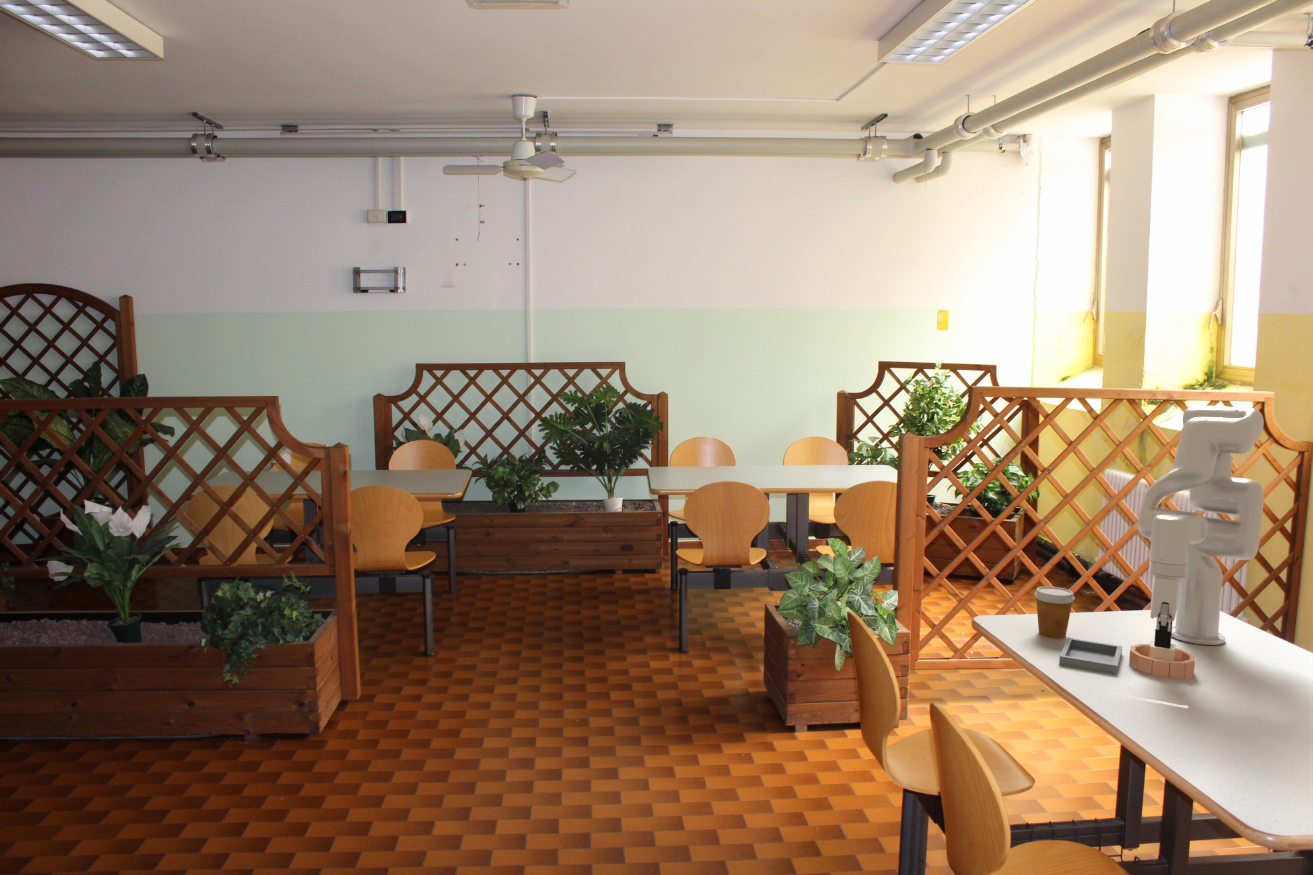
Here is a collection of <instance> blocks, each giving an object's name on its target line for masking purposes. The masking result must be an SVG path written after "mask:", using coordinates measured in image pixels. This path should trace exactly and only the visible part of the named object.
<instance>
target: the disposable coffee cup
mask: <svg viewBox="0 0 1313 875" xmlns="http://www.w3.org/2000/svg"><path fill="white" fill-rule="evenodd" d="M1034 596H1035V600H1036V610H1037V611H1036V612H1037V613H1036V614H1037V624H1038V626H1037V627H1038V633H1039V635H1040V636H1043V637H1046V638H1049V639H1050V638H1051V639H1064V638H1066V636H1067V631H1068V625H1069V622H1070V617H1071V611H1072V606H1073V602H1074V600H1076V598H1075V596H1074V592H1073V591H1072V590H1069V589H1067V588H1063V587H1058V586H1056V587H1055V586H1040V587H1037V588H1036V590H1035V592H1034Z"/></svg>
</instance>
